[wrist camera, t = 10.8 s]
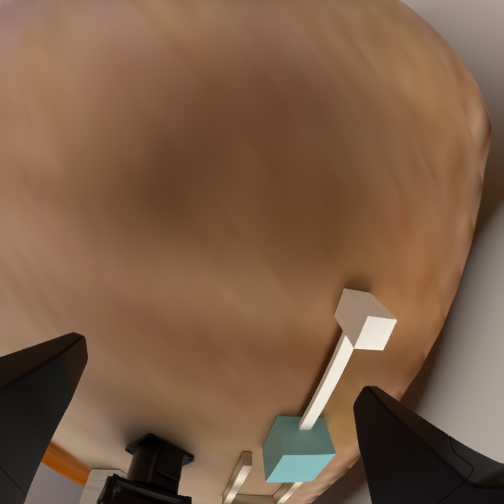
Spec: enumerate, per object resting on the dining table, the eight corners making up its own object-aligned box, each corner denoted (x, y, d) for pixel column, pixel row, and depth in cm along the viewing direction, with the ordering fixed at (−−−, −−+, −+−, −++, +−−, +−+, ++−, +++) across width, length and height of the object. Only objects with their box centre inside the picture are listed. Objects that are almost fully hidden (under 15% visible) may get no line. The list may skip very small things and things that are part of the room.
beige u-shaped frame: (277, 498, 29) (279, 514, 26) (222, 495, 29) (222, 513, 25) (313, 454, 26) (318, 476, 22) (242, 451, 25) (243, 475, 22)
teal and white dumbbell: (304, 448, 25) (311, 481, 20) (262, 446, 25) (265, 482, 20) (383, 295, 20) (414, 324, 15) (328, 285, 20) (352, 317, 15)
